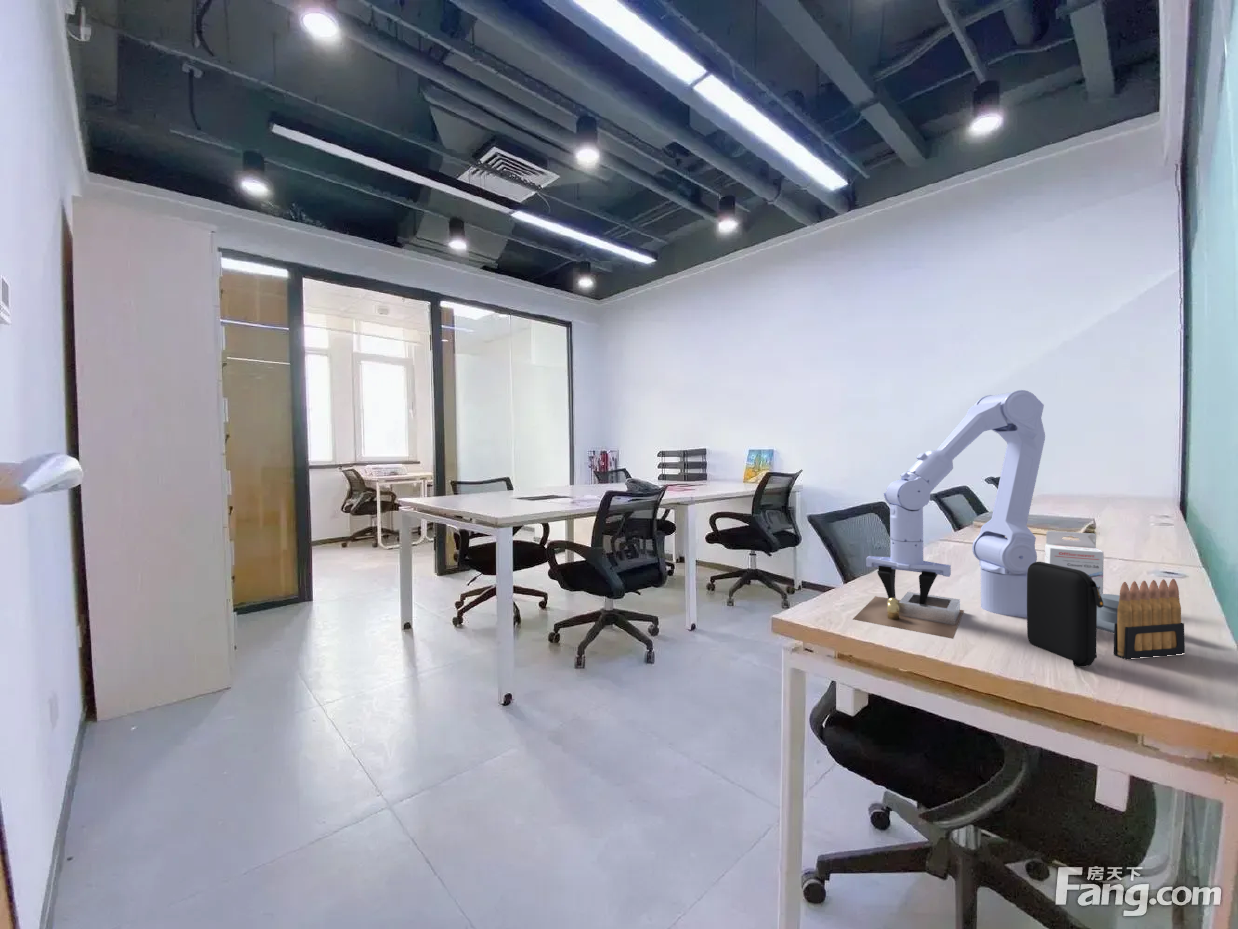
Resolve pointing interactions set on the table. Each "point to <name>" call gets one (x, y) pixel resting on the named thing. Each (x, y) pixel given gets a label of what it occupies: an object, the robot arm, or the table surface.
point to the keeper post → (893, 609)
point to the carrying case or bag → (1063, 611)
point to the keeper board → (904, 620)
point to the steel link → (930, 608)
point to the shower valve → (1108, 612)
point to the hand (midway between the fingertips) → (907, 606)
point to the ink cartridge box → (1076, 554)
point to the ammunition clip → (1149, 621)
